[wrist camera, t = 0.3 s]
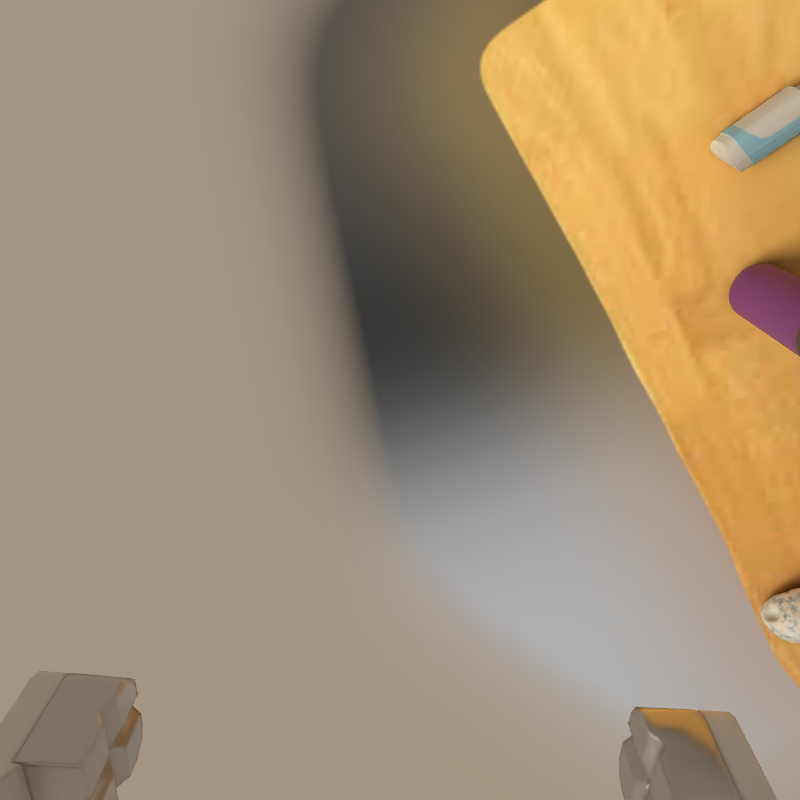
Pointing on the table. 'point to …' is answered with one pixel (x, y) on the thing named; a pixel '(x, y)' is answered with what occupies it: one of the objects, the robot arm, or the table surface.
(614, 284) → the table surface
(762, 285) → the disc
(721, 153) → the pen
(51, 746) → the robot arm
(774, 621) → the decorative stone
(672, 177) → the table surface
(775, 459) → the table surface
